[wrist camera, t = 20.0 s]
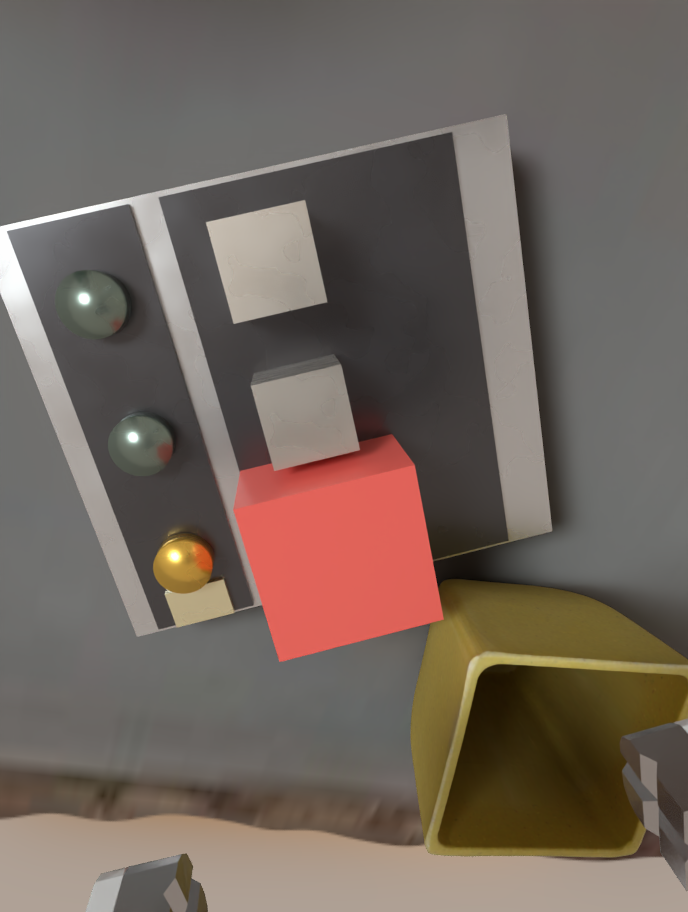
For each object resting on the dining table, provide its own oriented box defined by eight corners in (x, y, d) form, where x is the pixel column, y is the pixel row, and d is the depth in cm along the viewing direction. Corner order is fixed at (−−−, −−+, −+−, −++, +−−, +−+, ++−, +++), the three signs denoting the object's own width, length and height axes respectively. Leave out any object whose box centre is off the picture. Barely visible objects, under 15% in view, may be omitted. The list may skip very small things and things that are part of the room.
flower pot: (412, 536, 27) (475, 655, 19) (581, 552, 28) (711, 670, 20) (380, 690, 30) (423, 857, 21) (537, 698, 31) (637, 859, 22)
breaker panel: (476, 135, 22) (541, 89, 17) (523, 504, 27) (584, 561, 22) (15, 237, 21) (-72, 225, 16) (152, 597, 27) (120, 680, 21)
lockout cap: (391, 433, 22) (414, 464, 18) (418, 567, 24) (443, 619, 20) (240, 470, 22) (233, 509, 18) (278, 603, 24) (279, 662, 20)
